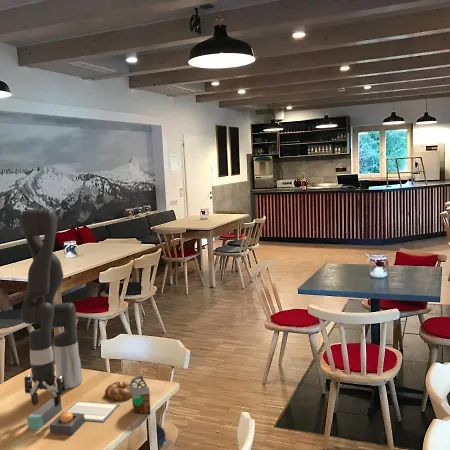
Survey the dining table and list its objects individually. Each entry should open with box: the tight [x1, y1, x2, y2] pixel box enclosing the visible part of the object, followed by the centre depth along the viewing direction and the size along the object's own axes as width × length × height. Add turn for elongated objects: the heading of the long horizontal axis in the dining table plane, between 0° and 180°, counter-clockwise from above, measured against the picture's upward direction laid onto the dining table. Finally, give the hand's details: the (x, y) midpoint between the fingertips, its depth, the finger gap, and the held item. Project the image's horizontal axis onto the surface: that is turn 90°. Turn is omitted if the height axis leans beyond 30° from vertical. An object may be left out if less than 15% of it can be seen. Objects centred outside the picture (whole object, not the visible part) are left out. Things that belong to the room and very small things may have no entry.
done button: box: [61, 411, 73, 423], centre depth 162 cm, size 4×4×2 cm
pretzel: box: [104, 381, 132, 401], centre depth 184 cm, size 12×11×4 cm
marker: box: [26, 398, 63, 431], centre depth 168 cm, size 13×4×4 cm, turn 166°
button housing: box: [48, 411, 86, 436], centre depth 162 cm, size 8×8×3 cm
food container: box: [128, 374, 151, 415], centre depth 171 cm, size 12×6×10 cm, turn 21°
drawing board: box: [65, 400, 120, 423], centre depth 172 cm, size 12×17×1 cm
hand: (46, 405), depth 168 cm, fingers open, 8 cm apart
